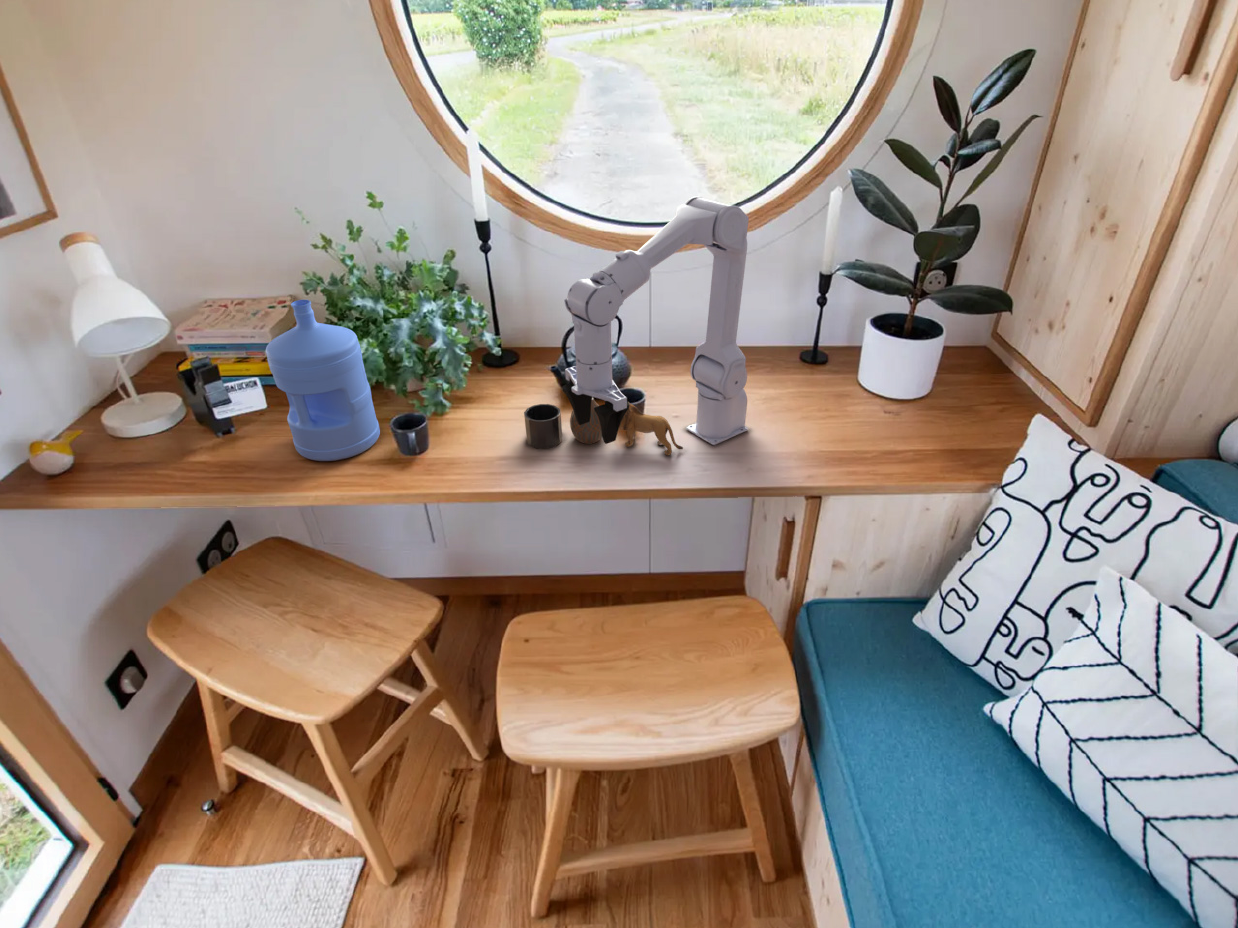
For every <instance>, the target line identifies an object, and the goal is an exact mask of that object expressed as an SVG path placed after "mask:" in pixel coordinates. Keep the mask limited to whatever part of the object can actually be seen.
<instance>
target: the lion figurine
mask: <svg viewBox="0 0 1238 928" xmlns="http://www.w3.org/2000/svg"><path fill="white" fill-rule="evenodd" d="M627 402H628V403H629V409H628V410H627V412H626V413H625V415H624V417H623V419H622V421H621V423H620V426H619V429H620V430H624V431H626V436H627V439H628V441H626V442H625V443H624V444H625V446H626V447H627V448H628V447H629V448H630V447H632V446H633V445H634V439H635V437H636V432H639V433H642V434H651V433H654V436H655V437H656V439H657V445H659V446H664V447H665V448H666V450H664V455H665V456H670V455H671V454H672V452H673V450H672V449H673V447H672V445H673V446H674V447H675V448H676V449H677V450H680V451H681V450H683V449H684V447H683V446H681V445H679V444H677V443H676V440H675V437H674V433H673V429H672V427H671V425H670V423H669V421H668V420H667V419H666V418H665V417H664V416H662V415H650V414H645V413H643V412H641V411H640V409H639V408H638V407H637V406H635V405H634V404H632V403H630V402H629V401H627ZM667 433H669V437H670V439H671V442H672V445H671V443H670V442H669V440H668V438H667Z"/></svg>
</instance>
